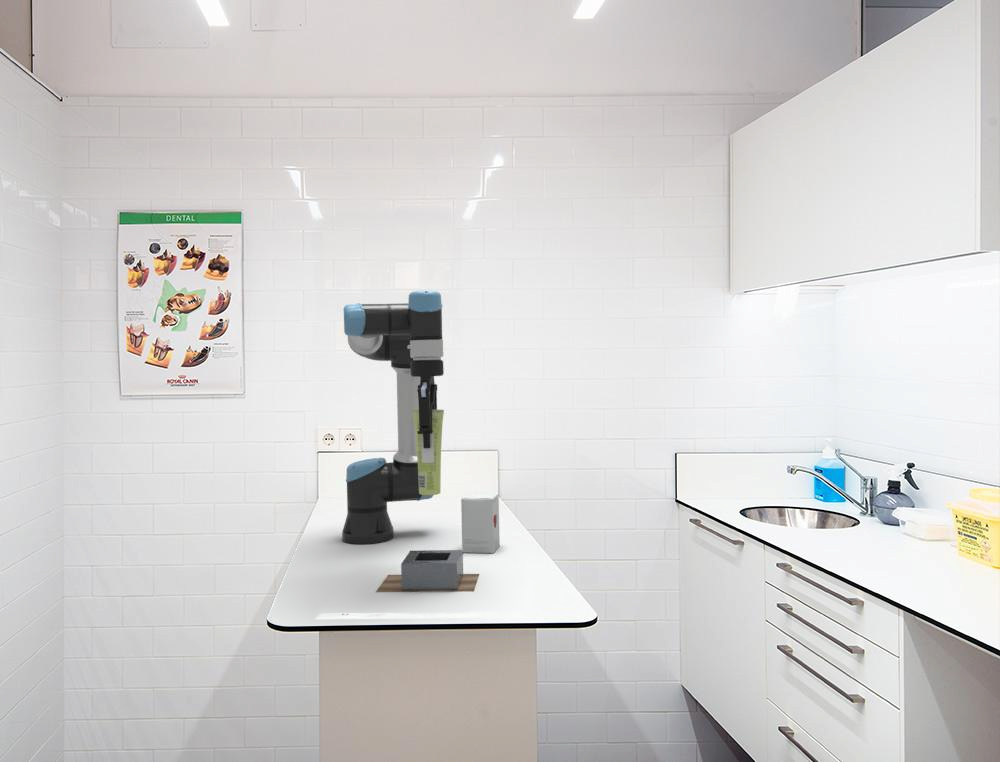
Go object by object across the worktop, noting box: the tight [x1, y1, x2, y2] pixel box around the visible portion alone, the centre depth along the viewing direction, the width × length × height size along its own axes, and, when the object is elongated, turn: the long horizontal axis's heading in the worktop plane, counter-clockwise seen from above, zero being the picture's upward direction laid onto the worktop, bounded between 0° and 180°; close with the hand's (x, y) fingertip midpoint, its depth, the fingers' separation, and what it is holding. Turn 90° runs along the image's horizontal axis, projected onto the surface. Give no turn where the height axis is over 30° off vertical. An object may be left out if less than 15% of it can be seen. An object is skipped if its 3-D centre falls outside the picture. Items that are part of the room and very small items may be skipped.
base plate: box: [375, 573, 480, 593], centre depth 182 cm, size 14×22×1 cm, turn 86°
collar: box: [400, 549, 464, 590], centre depth 182 cm, size 12×12×6 cm
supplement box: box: [460, 492, 501, 554], centre depth 218 cm, size 9×9×15 cm
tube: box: [413, 409, 445, 496], centre depth 182 cm, size 6×5×20 cm
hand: (429, 460), depth 182 cm, fingers closed on tube, 4 cm apart
